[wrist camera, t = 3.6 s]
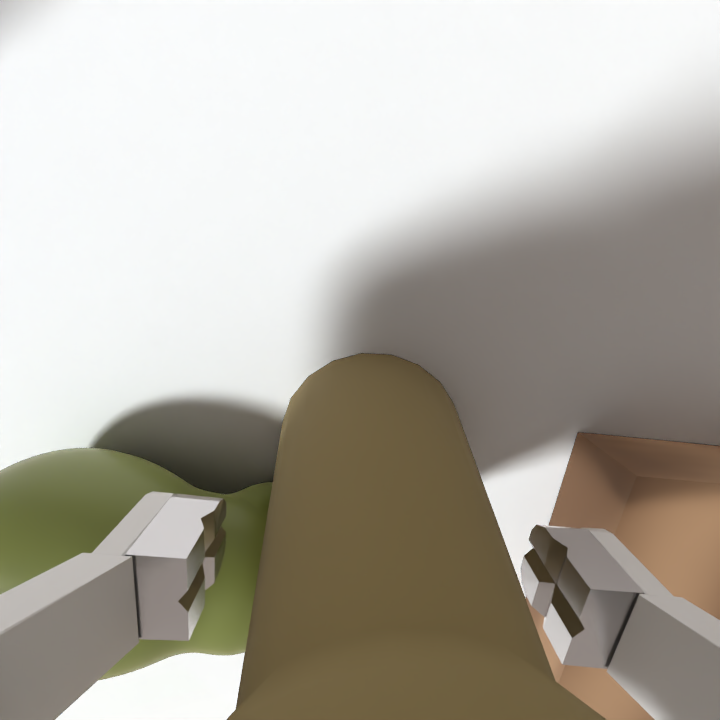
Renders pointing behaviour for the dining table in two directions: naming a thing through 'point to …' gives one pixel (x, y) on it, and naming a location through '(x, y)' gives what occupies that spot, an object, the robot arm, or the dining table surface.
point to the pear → (103, 513)
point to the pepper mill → (388, 567)
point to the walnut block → (642, 533)
